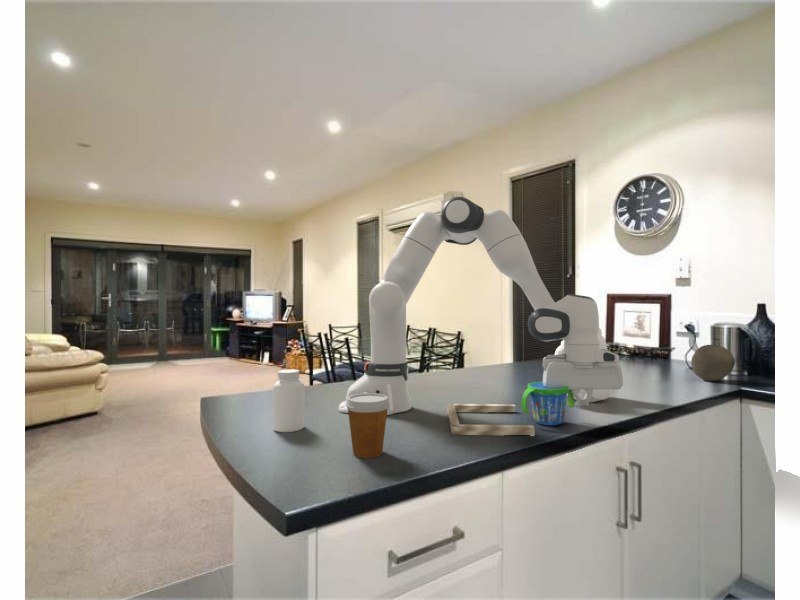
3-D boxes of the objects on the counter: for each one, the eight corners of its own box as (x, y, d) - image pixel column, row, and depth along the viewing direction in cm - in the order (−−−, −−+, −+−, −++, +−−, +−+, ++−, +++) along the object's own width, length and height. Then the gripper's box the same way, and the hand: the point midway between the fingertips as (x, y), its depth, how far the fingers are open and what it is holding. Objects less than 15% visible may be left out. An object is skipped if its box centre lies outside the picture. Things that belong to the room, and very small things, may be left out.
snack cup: (532, 430, 108) (531, 390, 108) (513, 419, 118) (512, 383, 119) (586, 425, 111) (585, 386, 111) (563, 415, 122) (562, 379, 122)
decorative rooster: (589, 392, 153) (588, 324, 154) (625, 402, 139) (624, 326, 139) (530, 398, 145) (530, 325, 146) (562, 408, 130) (562, 327, 131)
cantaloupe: (702, 383, 170) (702, 346, 170) (685, 377, 184) (685, 343, 184) (742, 384, 168) (742, 346, 168) (721, 378, 181) (721, 343, 182)
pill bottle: (276, 434, 105) (276, 374, 105) (270, 426, 112) (270, 369, 112) (308, 430, 109) (308, 371, 109) (300, 422, 116) (300, 367, 116)
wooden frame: (452, 434, 105) (452, 426, 105) (447, 410, 129) (447, 403, 129) (534, 436, 103) (534, 427, 103) (514, 411, 127) (514, 404, 127)
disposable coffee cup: (346, 446, 96) (346, 393, 96) (388, 445, 97) (388, 392, 97) (344, 462, 87) (344, 403, 87) (391, 460, 88) (391, 402, 88)
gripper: (545, 355, 112) (546, 408, 112) (625, 355, 111) (626, 408, 111) (539, 353, 118) (540, 402, 118) (614, 352, 117) (615, 403, 117)
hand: (582, 405), depth 115 cm, fingers closed
